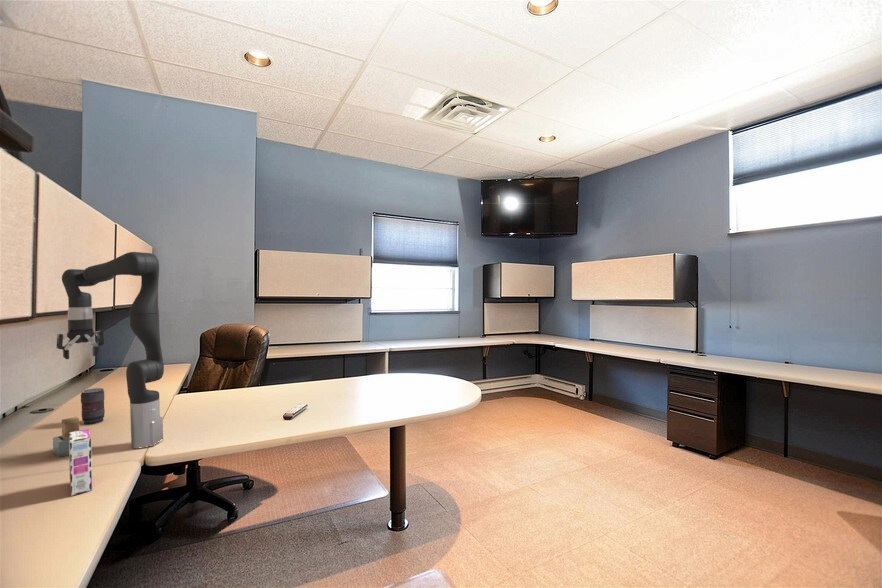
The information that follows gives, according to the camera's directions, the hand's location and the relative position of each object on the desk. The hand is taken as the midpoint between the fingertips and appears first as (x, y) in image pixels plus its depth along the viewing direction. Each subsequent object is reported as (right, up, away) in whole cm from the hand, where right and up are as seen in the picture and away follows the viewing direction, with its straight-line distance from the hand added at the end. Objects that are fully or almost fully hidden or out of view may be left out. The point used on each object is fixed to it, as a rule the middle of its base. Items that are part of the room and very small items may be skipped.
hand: (81, 357), depth 160 cm
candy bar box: (+37, -34, -40) cm, 64 cm away
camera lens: (-12, -33, +19) cm, 40 cm away
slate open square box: (+8, -33, -12) cm, 36 cm away
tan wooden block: (+8, -32, -12) cm, 35 cm away
